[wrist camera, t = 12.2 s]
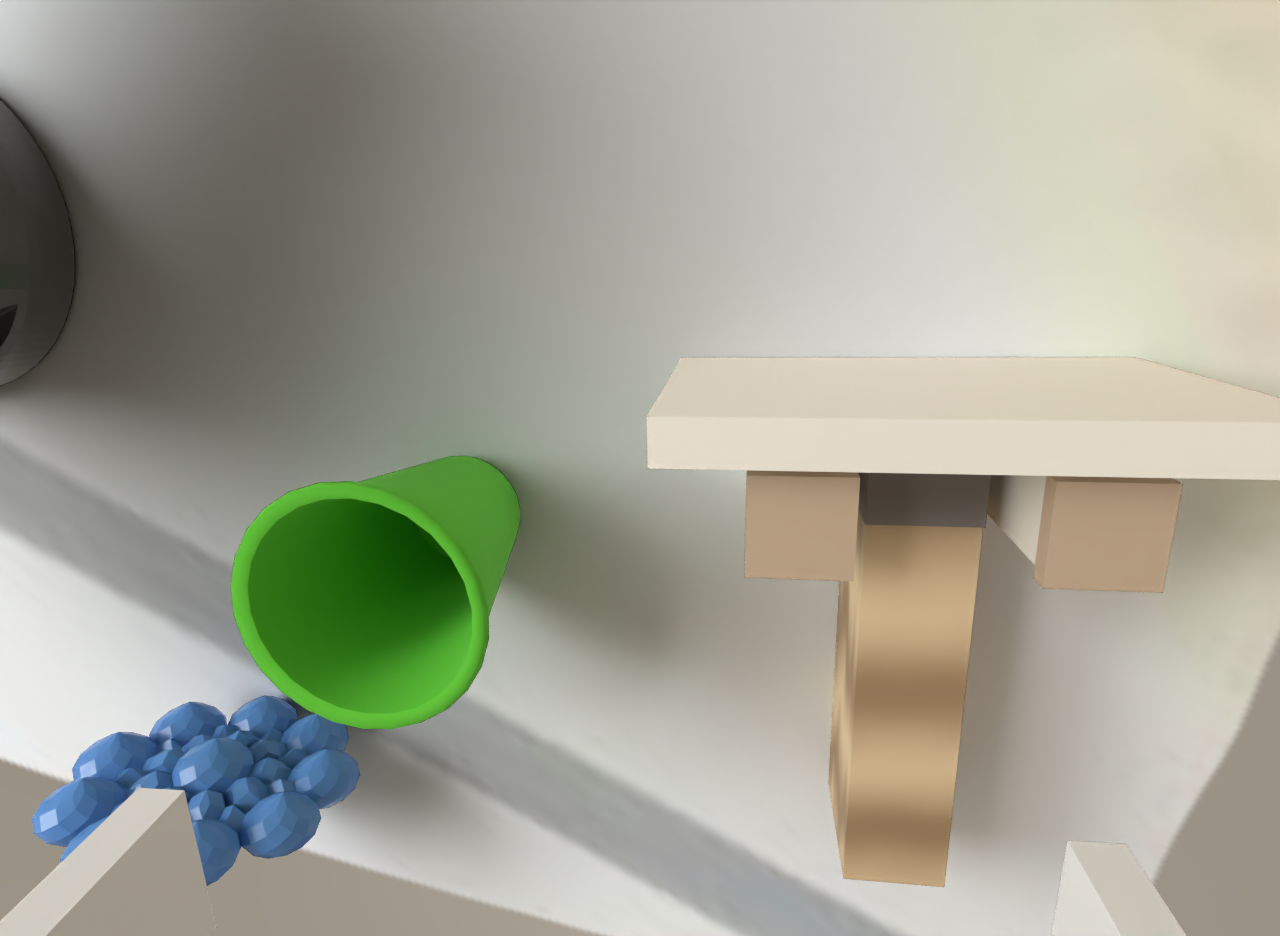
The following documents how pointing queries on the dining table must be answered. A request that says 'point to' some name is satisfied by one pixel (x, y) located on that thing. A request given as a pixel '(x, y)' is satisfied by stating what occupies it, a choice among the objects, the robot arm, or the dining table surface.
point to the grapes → (214, 779)
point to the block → (904, 673)
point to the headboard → (966, 451)
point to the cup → (377, 589)
